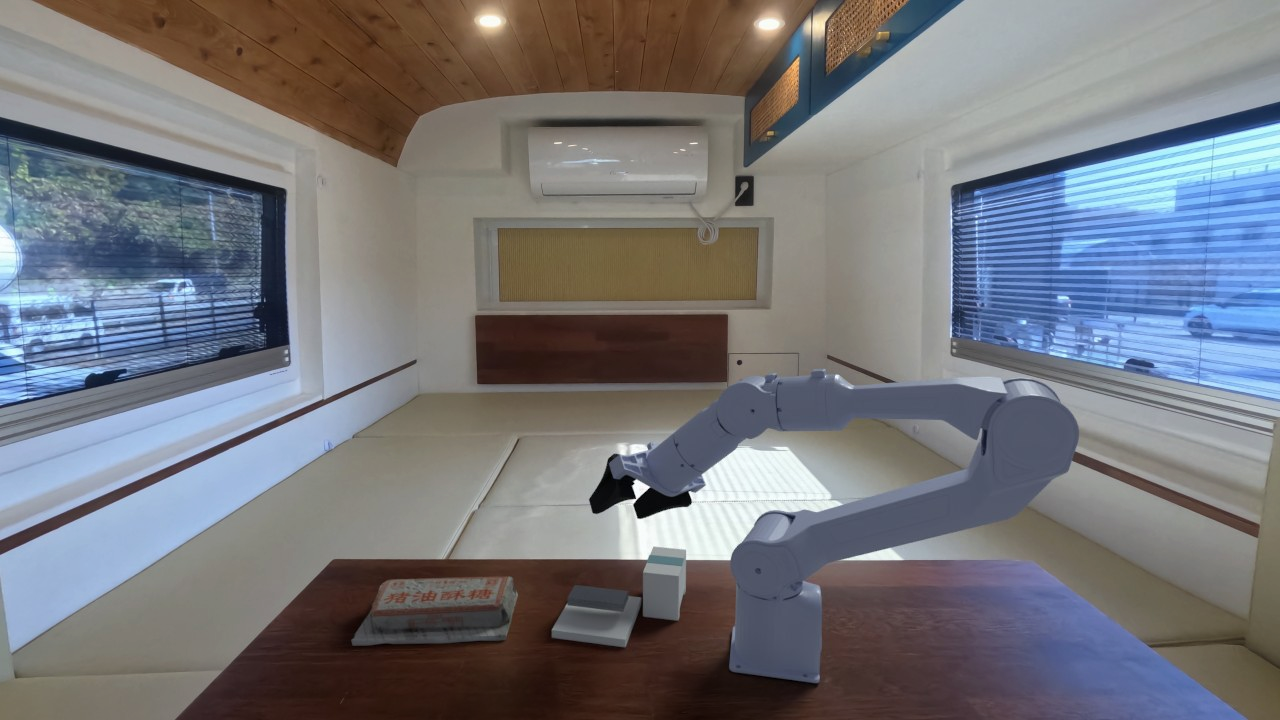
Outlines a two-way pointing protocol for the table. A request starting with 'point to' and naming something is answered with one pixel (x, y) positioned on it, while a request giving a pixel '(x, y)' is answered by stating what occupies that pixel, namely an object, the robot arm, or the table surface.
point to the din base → (597, 624)
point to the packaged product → (439, 611)
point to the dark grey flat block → (598, 598)
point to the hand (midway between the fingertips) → (615, 509)
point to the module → (664, 583)
